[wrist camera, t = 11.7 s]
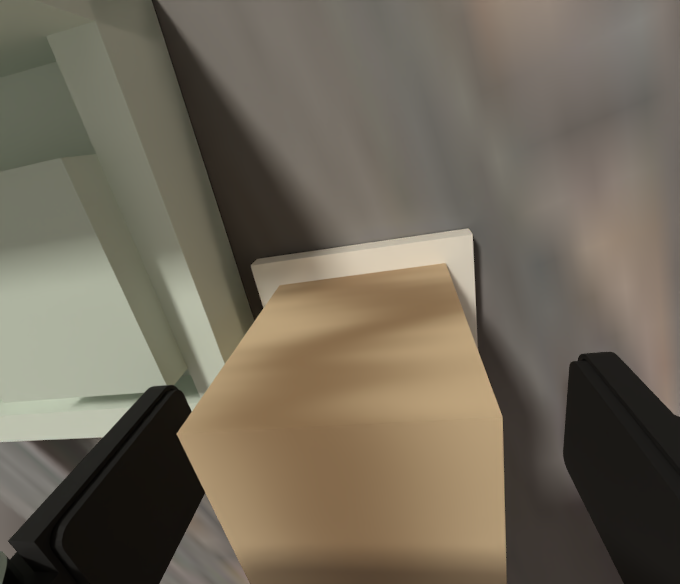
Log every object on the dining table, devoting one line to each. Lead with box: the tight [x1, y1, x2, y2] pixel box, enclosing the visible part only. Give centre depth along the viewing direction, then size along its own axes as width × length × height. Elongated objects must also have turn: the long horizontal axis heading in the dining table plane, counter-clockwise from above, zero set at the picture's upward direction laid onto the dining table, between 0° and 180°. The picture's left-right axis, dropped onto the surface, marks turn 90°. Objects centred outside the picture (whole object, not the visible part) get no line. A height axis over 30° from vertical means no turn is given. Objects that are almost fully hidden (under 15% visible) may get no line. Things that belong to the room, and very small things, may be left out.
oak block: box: [177, 263, 507, 584], centre depth 9 cm, size 5×5×6 cm
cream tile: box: [251, 228, 478, 349], centre depth 12 cm, size 6×6×1 cm
